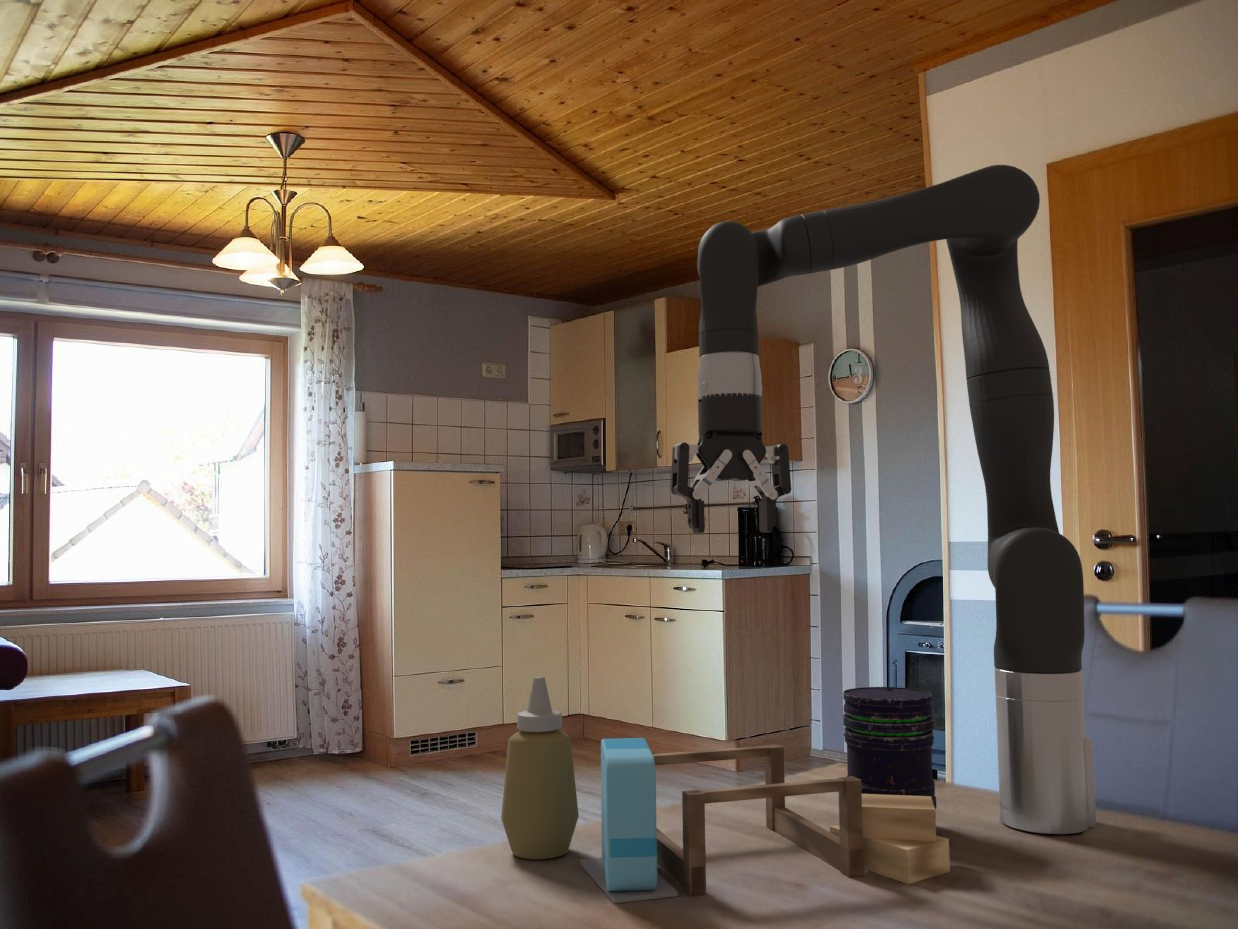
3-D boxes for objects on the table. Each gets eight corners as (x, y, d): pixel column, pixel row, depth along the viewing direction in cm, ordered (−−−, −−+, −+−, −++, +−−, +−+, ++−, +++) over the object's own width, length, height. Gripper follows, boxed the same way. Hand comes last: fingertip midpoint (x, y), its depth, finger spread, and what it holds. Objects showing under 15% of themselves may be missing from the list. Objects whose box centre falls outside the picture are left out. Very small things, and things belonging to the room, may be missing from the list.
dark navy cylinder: (935, 845, 109) (931, 701, 110) (840, 837, 112) (837, 697, 113) (938, 820, 118) (934, 688, 119) (851, 814, 121) (847, 685, 122)
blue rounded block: (657, 895, 93) (655, 759, 94) (607, 897, 93) (606, 760, 94) (646, 855, 105) (644, 735, 106) (601, 856, 105) (600, 736, 106)
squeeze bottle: (590, 845, 110) (588, 674, 111) (561, 868, 102) (560, 684, 104) (520, 839, 113) (520, 672, 114) (487, 860, 105) (487, 681, 106)
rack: (779, 825, 117) (777, 744, 118) (863, 875, 99) (861, 780, 100) (629, 840, 112) (628, 755, 112) (689, 896, 94) (688, 794, 95)
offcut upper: (841, 822, 106) (840, 793, 107) (932, 826, 105) (931, 796, 105) (840, 837, 101) (839, 805, 102) (936, 841, 99) (935, 809, 100)
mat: (637, 858, 105) (637, 854, 105) (677, 896, 94) (677, 891, 94) (580, 864, 104) (580, 859, 104) (614, 903, 92) (613, 899, 92)
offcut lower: (871, 851, 108) (870, 817, 109) (950, 876, 100) (948, 839, 100) (830, 861, 105) (829, 826, 105) (908, 888, 97) (907, 850, 97)
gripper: (771, 401, 128) (774, 532, 126) (662, 397, 124) (664, 533, 122) (798, 392, 120) (802, 531, 119) (684, 388, 116) (686, 533, 115)
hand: (732, 532), depth 121 cm, fingers open, 8 cm apart
